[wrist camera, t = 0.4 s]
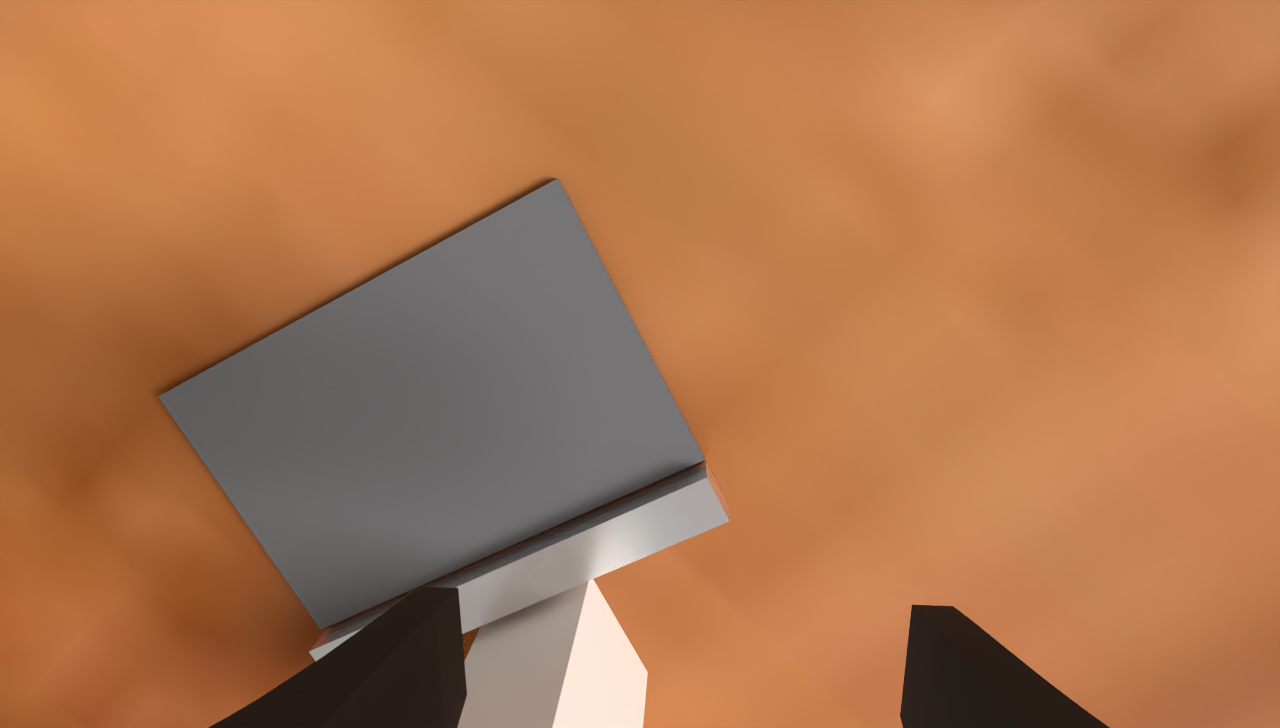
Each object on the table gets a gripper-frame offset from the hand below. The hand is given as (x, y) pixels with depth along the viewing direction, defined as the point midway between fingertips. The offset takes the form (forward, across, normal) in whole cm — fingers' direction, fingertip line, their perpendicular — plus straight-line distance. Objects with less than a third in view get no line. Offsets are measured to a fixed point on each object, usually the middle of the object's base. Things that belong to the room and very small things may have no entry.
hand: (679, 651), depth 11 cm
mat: (+10, +8, 0) cm, 13 cm away
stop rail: (+10, +5, +5) cm, 12 cm away
